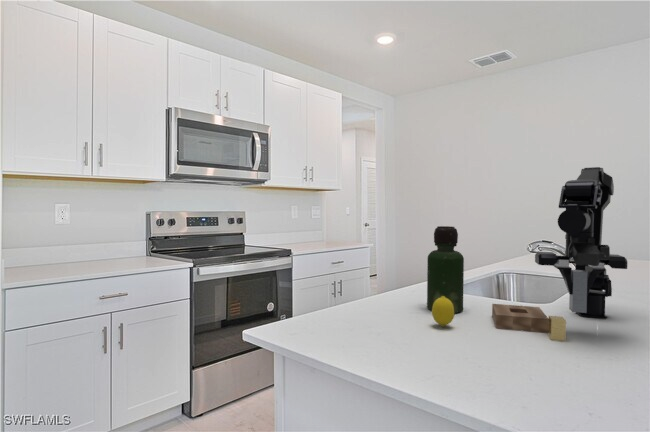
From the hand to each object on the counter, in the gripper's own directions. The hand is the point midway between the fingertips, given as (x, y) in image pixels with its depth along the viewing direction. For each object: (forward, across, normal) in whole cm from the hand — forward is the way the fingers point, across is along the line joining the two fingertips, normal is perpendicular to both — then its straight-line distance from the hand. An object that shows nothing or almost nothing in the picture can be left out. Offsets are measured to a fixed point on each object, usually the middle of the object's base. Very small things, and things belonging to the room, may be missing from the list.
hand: (578, 294), depth 101 cm
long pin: (+4, 0, 0) cm, 4 cm away
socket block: (+9, -13, +3) cm, 16 cm away
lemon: (+10, -32, -6) cm, 34 cm away
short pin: (+10, -6, -7) cm, 13 cm away
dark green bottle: (+10, -32, +12) cm, 35 cm away
